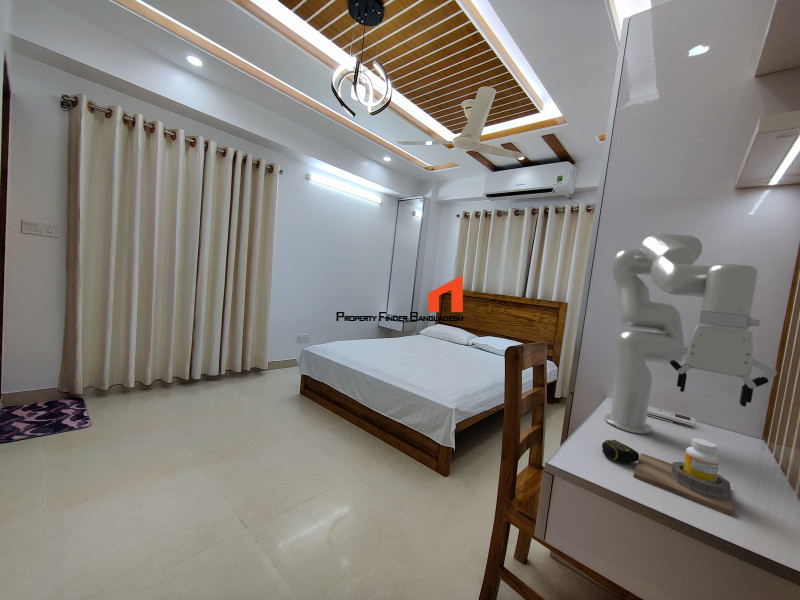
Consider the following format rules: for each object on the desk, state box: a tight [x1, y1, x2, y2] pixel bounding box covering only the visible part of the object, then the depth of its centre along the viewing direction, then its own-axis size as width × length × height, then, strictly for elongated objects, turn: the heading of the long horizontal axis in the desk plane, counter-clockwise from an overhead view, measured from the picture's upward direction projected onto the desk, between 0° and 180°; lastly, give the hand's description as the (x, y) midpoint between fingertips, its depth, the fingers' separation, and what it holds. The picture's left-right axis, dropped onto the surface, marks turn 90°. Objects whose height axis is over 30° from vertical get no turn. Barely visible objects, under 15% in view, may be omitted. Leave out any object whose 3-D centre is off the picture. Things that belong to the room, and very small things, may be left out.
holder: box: [633, 452, 734, 517], centre depth 73 cm, size 14×16×4 cm
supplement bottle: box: [683, 437, 720, 484], centre depth 71 cm, size 5×5×10 cm
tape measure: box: [601, 439, 640, 465], centre depth 81 cm, size 7×7×4 cm
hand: (710, 397), depth 70 cm, fingers open, 9 cm apart
